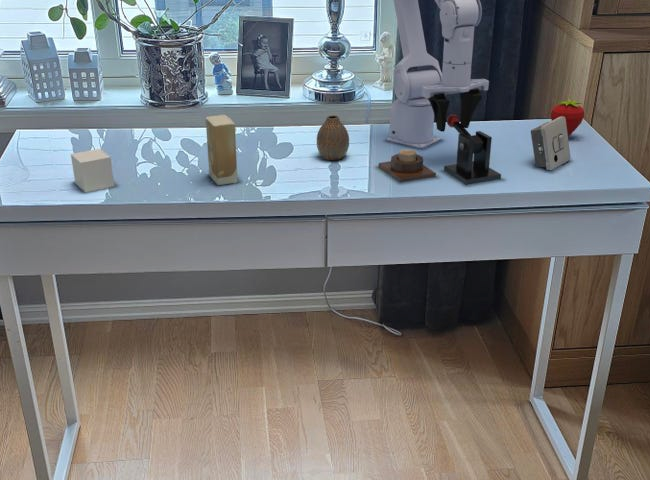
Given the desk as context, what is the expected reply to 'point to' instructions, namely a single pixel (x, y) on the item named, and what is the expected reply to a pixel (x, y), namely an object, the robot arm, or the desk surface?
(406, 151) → the button
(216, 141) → the cosmetic box
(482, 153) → the black lever base
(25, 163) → the desk surface
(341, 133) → the vase
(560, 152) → the electrical switch
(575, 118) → the strawberry
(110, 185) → the beige cube
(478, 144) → the red knob lever
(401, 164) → the control block
